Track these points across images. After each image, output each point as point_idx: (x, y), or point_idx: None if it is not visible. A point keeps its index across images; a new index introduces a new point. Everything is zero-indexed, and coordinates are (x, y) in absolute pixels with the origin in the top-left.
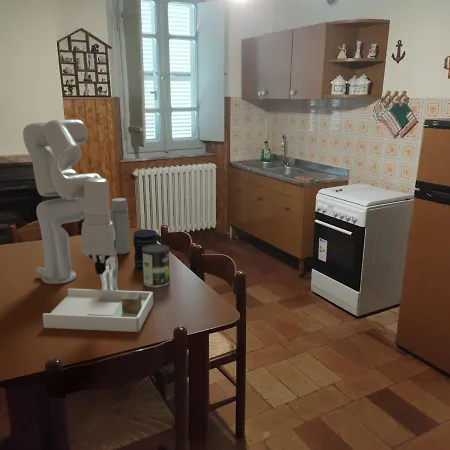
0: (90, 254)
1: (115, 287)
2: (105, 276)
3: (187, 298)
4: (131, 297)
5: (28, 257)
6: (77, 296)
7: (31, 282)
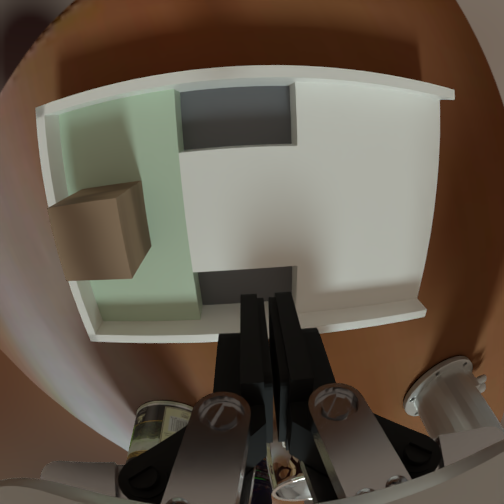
0: (442, 468)
1: None
2: None
3: (45, 346)
4: (77, 224)
5: None
6: (385, 292)
7: (487, 349)
